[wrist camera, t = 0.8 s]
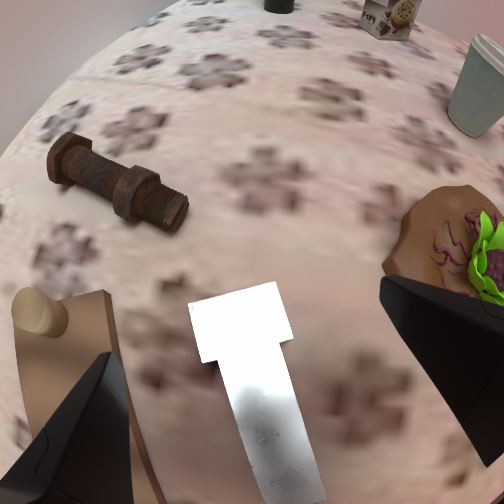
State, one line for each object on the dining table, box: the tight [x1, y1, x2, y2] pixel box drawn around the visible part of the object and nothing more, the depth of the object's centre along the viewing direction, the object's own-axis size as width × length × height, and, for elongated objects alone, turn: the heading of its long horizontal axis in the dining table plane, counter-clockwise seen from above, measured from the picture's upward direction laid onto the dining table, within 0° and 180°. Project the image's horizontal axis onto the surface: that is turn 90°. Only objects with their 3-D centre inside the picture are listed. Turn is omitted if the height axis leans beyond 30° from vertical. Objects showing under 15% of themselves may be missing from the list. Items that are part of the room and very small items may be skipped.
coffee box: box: [359, 0, 422, 41], centre depth 36 cm, size 9×6×16 cm
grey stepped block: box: [188, 281, 327, 504], centre depth 18 cm, size 16×6×3 cm, turn 16°
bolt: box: [47, 132, 189, 231], centre depth 24 cm, size 6×5×15 cm
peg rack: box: [11, 287, 166, 504], centre depth 14 cm, size 25×10×6 cm, turn 16°
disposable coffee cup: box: [448, 34, 504, 138], centre depth 26 cm, size 11×11×15 cm
